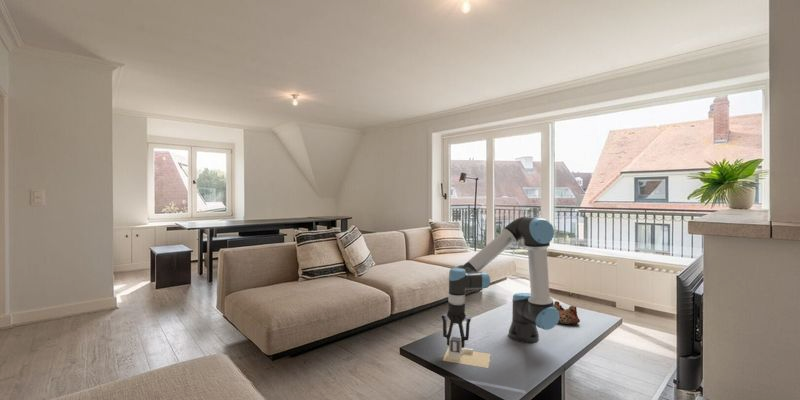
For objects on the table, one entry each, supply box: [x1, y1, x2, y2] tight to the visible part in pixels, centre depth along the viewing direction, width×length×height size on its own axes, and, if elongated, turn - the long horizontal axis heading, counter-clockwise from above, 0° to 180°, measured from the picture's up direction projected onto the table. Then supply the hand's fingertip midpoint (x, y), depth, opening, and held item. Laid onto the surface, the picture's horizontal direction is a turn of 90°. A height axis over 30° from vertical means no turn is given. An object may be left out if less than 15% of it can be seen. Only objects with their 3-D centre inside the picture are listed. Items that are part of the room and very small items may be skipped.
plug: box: [450, 336, 461, 353], centre depth 159 cm, size 4×5×8 cm
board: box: [442, 346, 492, 369], centre depth 159 cm, size 20×14×4 cm
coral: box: [553, 300, 581, 325], centre depth 210 cm, size 18×13×15 cm
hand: (455, 353), depth 159 cm, fingers closed on plug, 4 cm apart
